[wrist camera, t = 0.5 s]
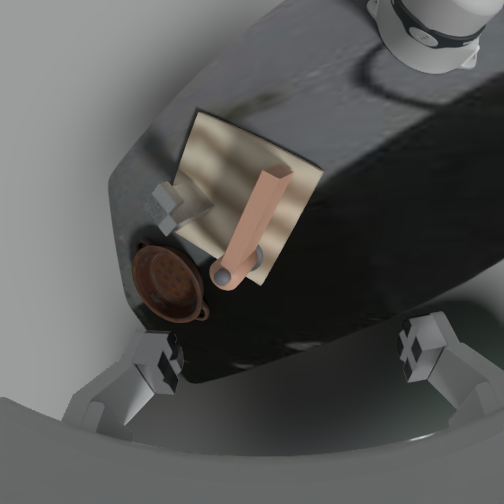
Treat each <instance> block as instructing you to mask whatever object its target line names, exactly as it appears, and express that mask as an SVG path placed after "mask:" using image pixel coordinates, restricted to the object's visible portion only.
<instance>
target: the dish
mask: <svg viewBox="0 0 504 504" xmlns="http://www.w3.org/2000/svg"><path fill="white" fill-rule="evenodd" d="M143 244H144V245H145V246H146V247H144V248H143V247H142V245H143ZM136 250H137V253H136V254H135V256H134V258H133V263H132V276H133V281H134V284H135V286H136V289H137V291H138V293H139V295H140V296H141V298H142V300H143V301H144V302H145V304H146V305H147V306H148V307H149V308H150V309H151V310H152V311H153V312H155V313H156V314H157V315H159V316H160V317H162V318H164V319H166V320H169V321H172V322H176V323H184V322H189V321H192V320H194V319H197V320H202V321H203V320H206V319H207V318H208V316H209V312H210V311H209V307H208V306H207V304H206V303H205V301H204V299H203V290H204V286H203V280H202V277H201V275H200V273H199V271H198V269H197V267H196V266H195V264H194V263H193V262H192V261H191V260H190V258H189V257H188V256H187V255H185V254H184V253H183V252H181V251H179V250H177V249H175V248H173V247H169V246H155V245H154V243H152V242H151V241H150V240H148V239H146V238H143V239H141V240H139V241H138V242H137V244H136ZM201 309H202V310H204V313H205V314H204V315H202V314H200V311H201Z"/></svg>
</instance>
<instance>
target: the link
mask: <svg viewBox="0 0 504 504" xmlns="http://www.w3.org/2000/svg"><path fill="white" fill-rule="evenodd" d="M293 173H294V172H293V171H291V170H290V169H288V168H286V167H284V166H282V165H280V164H279V165H276V166H273V167H270V168H267V169H264V170H262V172H261V174H260V177H259V179H258V181H257V183H256V185H255V187H254V190H253V192H252V194H251V196H250V198H249V201H248V203H247V205H246V207H245V210H244V212H243V214H242V216H241V219H240V221H239V223H238V225H237V227H236V230H235V232H234V234H233V237H232V239H231V241H230V243H229V246H228V248H227V250H226V252H225V254H223V255H222V256H221V257H220V258H219V259H217V260H216V261H215V262H214V263H213V264H212V265H211V267H210V277H211V279H212V281H213V282H214V284H215V285H216V286H218V287H219V288H221V289H223V290H232V289H234V288H236V287H237V285H238V284H239V283H240V282H241V281H242V280H243V279H244V277H245V276H246V275H247V274H248V273H249V272H250V271H251V269H252V268H253V267H254V266H255V265H256V263H257V261H258V255H257V252H256V250H255V249H256V247H257V245H258V243H259V241H260V239H261V237H262V235H263V233H264V231H265V229H266V227H267V225H268V223H269V221H270V219H271V217H272V215H273V213H274V211H275V209H276V207H277V205H278V203H279V201H280V199H281V197H282V195H283V193H284V191H285V189H286V187H287V185H288V183H289V181H290V179H291V177H292V175H293Z"/></svg>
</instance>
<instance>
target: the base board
mask: <svg viewBox="0 0 504 504" xmlns="http://www.w3.org/2000/svg"><path fill="white" fill-rule="evenodd" d="M279 164H280V165H282V166H284V167H286V168H288V169H290V170H291V171H293V172H294V173H293V175H292V177H291V179H290V181H289V183H288V185H287V187H286V189H285V191H284V193H283V195H282V197H281V199H280V201H279V203H278V205H277V207H276V209H275V211H274V213H273V215H272V217H271V219H270V221H269V223H268V225H267V227H266V229H265V231H264V233H263V235H262V237H261V239H260V241H259V243H258V245H257V247H256V249H255V250H256V252H257V255H258V261H257V263H256V265H255V266H254V267H253V268H252V269H251V271H250V272H249V273H248V274H247V275H246V277H248V278H249V279H251V280H253V281H254V282H256V283H258V284H259V285H262V283H263V282H264V280H265V279H266V277H267V275H268V273H269V271H270V270H271V268H272V266H273V264H274V262H275V261H276V259H277V257H278V255H279V253H280V252H281V250H282V248H283V246H284V244H285V243H286V241H287V239H288V237H289V235H290V233H291V232H292V230H293V228H294V226H295V224H296V222H297V221H298V219H299V217H300V215H301V213H302V211H303V210H304V208H305V206H306V204H307V202H308V200H309V198H310V197H311V195H312V193H313V191H314V189H315V187H316V185H317V183H318V182H319V180H320V178H321V176H322V174H323V172H324V171H323V170H321V169H320V168H318V167H316V166H314V165H312V164H310V163H309V162H307V161H305V160H303V159H301V158H299V157H297V156H295V155H293V154H292V153H290V152H288V151H286V150H284V149H282V148H280V147H278V146H276V145H274V144H272V143H270V142H268V141H266V140H264V139H261V138H259V137H257V136H255V135H253V134H251V133H249V132H247V131H244V130H242V129H240V128H238V127H236V126H233V125H231V124H229V123H227V122H224V121H222V120H220V119H217V118H215V117H213V116H210V115H208V114H206V113H203V112H198V115H197V117H196V120H195V123H194V125H193V128H192V131H191V133H190V136H189V139H188V142H187V144H186V147H185V150H184V153H183V156H182V159H181V162H180V165H179V168H178V171H177V174H176V177H175V180H174V183H173V186H176V185H180V184H183V183H186V182H189V181H192V180H193V181H194V182H195V183H196V184H197V185H198V187H199V188H200V189H201V190H202V191H203V192H204V194H205V195H206V196H207V197H208V198H209V200H210V201H211V202H212V203H213V204H214V207H213V208H212V209H211V210H210V211H209V212H208V213H207V214H206V215H205V216H203V217H201V218H199V219H197V220H196V221H194V222H192V223H190V224H188V225H186V226H185V227H183V228H181V229H179V230H177V231H175V232H176V233H177V234H179V235H180V236H182V237H184V238H185V239H187V240H188V241H190V242H191V243H193V244H195V245H196V246H198V247H199V248H201V249H203V250H204V251H206V252H207V253H209V254H211V255H212V256H214V257H215V258H217V259H219V258H220V257H221V256H222V255H223V254H225V252H226V250H227V248H228V246H229V243H230V241H231V239H232V237H233V234H234V232H235V230H236V227H237V225H238V223H239V221H240V219H241V216H242V214H243V212H244V210H245V207H246V205H247V203H248V201H249V198H250V196H251V194H252V192H253V190H254V187H255V185H256V183H257V181H258V179H259V177H260V174H261V172H262V170H264V169H267V168H270V167H273V166H276V165H279ZM173 186H172V187H173Z"/></svg>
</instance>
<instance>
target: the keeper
mask: <svg viewBox="0 0 504 504" xmlns="http://www.w3.org/2000/svg"><path fill="white" fill-rule="evenodd" d="M142 207H143V208H144V209H145V211H146V212H147V213H148V214H149V216H150V217H151V218H152V219H153V221H154V222H155V223H156V225H157V226H158V227H159V228H160V230H161V231H162V232H163V233H164V235H165V236H168V235H170V234H172V233H174V232H175V231H177V230H179V229H181V228H183V227H185V226H186V225H188V224H190V223H192V222H194V221H196V220H197V219H199V218H201V217H203V216H205V215H206V214H207V213H208V212H209V211H210V210H211V209H212V208H213V207H214V204H213V203H212V202H211V201H210V200H209V198H208V197H207V196H206V195H205V194H204V192H203V191H202V190H201V189H200V188H199V187H198V185H197V184H196V183H195V182H194V181H193V180H192V181H189V182H186V183H183V184H180V185H176V186H173V187H172V185H171V184H170V183H169V182H168V181H167V182H163V183H160V184H159V185H158V186H157V188H156V189H155V190H154V192H153V193H152V194H151V196H150V197H149V198H148V200H147V201H146V202H145V204H144V205H143V206H142Z"/></svg>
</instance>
